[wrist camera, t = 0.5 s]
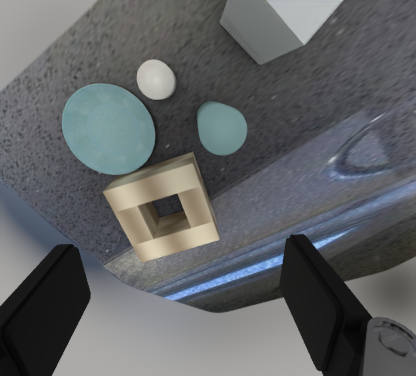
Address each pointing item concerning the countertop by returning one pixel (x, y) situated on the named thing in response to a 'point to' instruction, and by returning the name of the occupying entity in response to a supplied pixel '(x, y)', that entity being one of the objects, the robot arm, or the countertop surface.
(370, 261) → the countertop surface
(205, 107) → the teal dowel
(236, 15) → the supplement box
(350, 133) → the countertop surface
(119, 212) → the birch hole block
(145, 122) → the saucer
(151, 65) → the short off-white stub
